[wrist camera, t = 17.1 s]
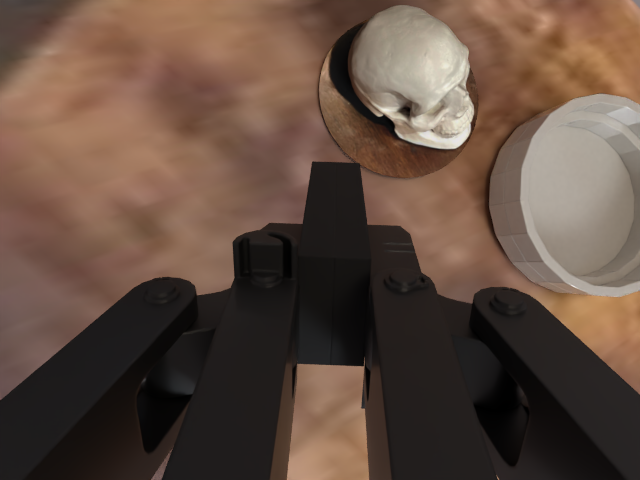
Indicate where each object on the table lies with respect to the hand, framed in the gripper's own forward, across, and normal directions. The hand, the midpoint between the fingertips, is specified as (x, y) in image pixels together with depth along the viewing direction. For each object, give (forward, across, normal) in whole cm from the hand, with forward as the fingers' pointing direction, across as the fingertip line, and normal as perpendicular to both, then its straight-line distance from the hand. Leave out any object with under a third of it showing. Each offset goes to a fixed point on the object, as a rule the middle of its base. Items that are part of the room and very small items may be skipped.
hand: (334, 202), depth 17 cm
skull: (+24, +4, -1) cm, 24 cm away
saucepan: (+23, +18, -8) cm, 31 cm away
